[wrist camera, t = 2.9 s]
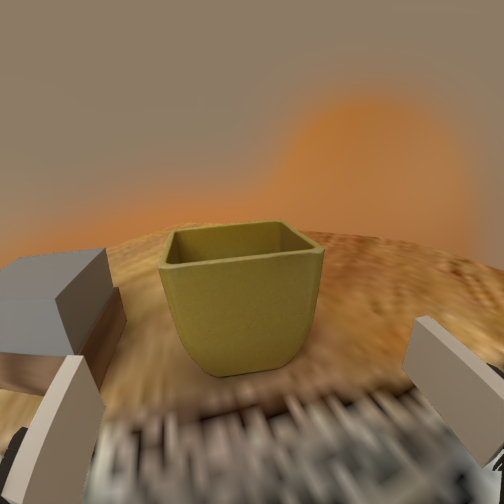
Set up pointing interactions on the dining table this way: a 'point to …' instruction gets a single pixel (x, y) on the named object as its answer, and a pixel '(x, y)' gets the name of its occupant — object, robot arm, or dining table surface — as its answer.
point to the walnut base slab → (46, 367)
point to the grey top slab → (52, 301)
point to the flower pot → (241, 293)
